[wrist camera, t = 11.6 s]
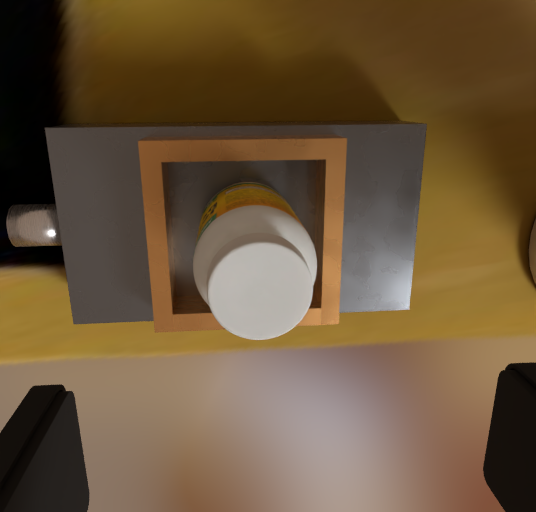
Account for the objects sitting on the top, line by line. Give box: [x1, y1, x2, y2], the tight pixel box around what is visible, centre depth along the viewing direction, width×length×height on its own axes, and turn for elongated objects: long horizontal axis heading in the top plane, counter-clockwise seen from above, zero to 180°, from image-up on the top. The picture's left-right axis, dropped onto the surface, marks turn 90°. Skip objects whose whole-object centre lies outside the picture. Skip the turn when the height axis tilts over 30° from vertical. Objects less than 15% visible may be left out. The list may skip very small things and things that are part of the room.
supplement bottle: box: [193, 182, 317, 340], centre depth 22 cm, size 5×5×10 cm
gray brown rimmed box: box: [7, 121, 427, 332], centre depth 27 cm, size 23×11×6 cm, turn 90°
